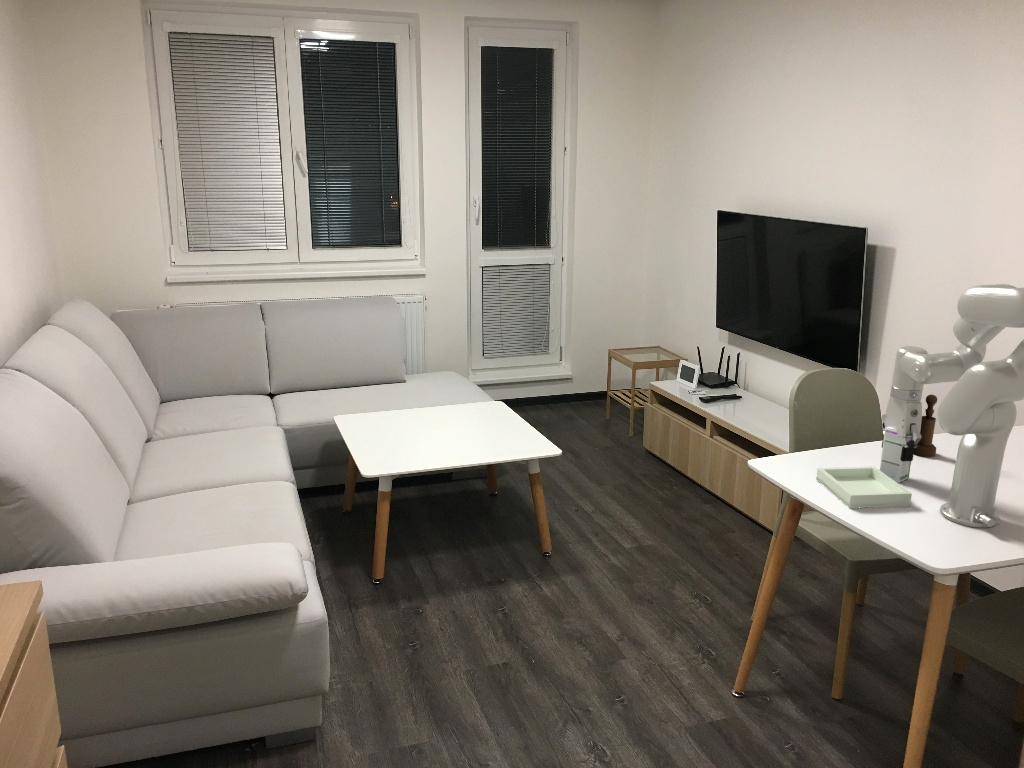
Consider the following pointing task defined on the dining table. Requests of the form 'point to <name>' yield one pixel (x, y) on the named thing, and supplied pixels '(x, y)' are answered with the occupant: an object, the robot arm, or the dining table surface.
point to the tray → (863, 487)
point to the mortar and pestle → (927, 430)
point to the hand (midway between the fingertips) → (896, 454)
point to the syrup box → (894, 456)
